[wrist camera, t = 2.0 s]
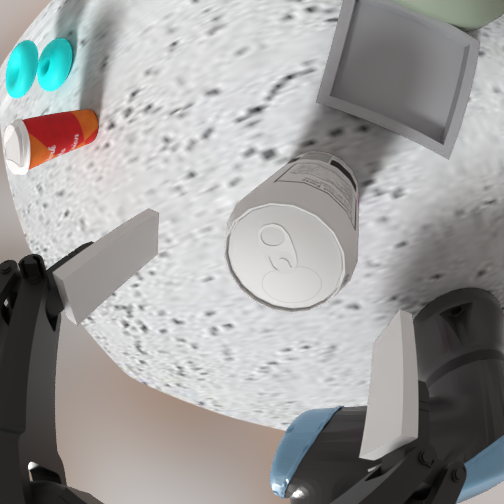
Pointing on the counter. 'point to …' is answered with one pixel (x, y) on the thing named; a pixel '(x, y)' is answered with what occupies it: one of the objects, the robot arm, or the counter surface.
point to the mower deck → (407, 65)
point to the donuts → (38, 66)
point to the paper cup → (47, 138)
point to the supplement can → (296, 234)
